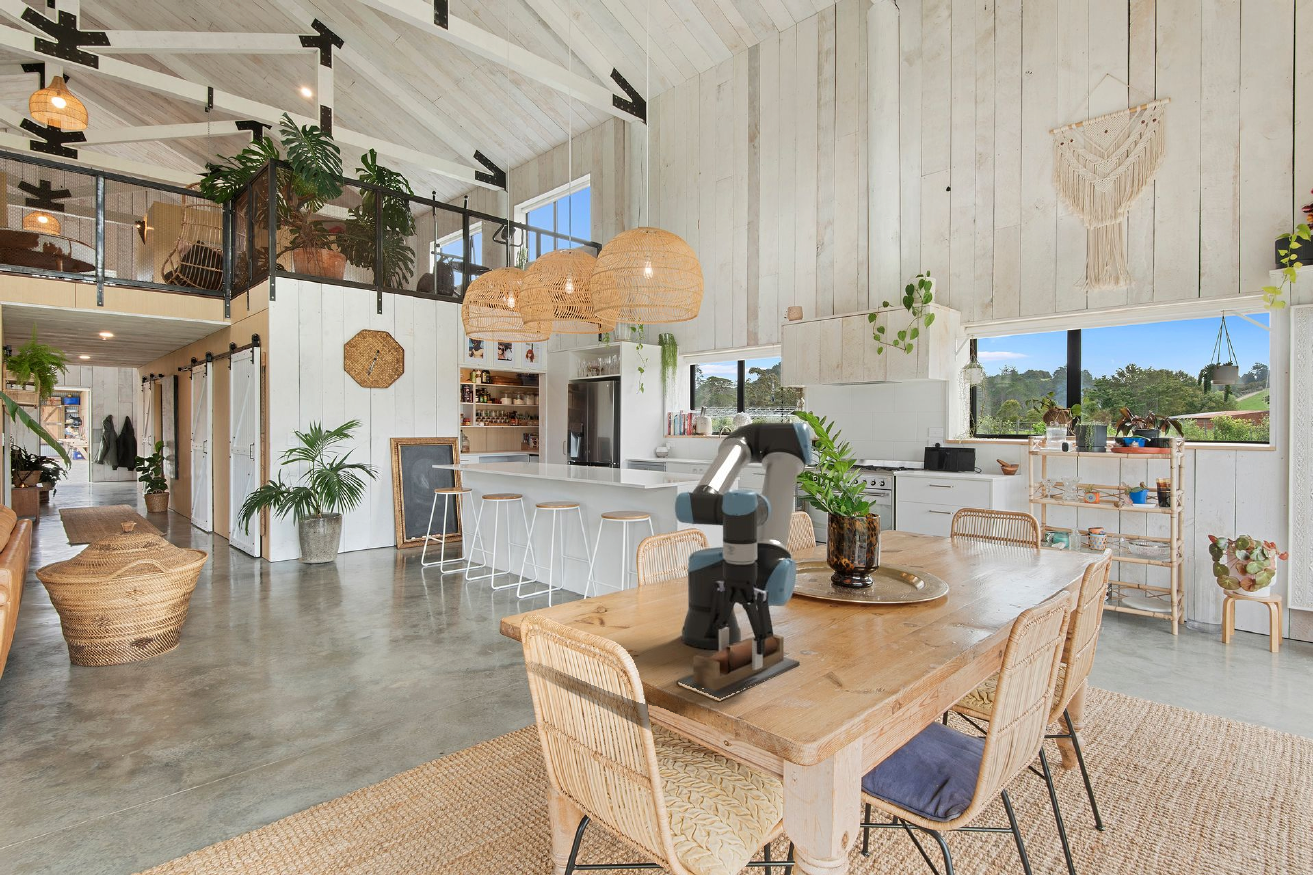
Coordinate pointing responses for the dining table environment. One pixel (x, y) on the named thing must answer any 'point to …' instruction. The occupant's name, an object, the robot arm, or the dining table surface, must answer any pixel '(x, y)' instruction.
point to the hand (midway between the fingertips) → (740, 662)
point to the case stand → (737, 673)
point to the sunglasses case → (740, 654)
